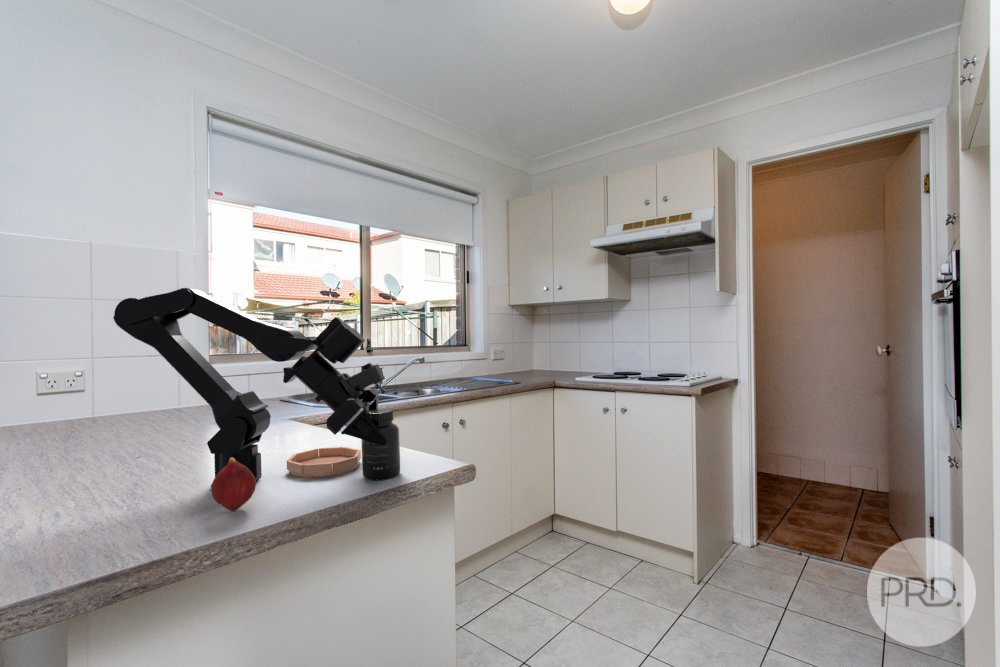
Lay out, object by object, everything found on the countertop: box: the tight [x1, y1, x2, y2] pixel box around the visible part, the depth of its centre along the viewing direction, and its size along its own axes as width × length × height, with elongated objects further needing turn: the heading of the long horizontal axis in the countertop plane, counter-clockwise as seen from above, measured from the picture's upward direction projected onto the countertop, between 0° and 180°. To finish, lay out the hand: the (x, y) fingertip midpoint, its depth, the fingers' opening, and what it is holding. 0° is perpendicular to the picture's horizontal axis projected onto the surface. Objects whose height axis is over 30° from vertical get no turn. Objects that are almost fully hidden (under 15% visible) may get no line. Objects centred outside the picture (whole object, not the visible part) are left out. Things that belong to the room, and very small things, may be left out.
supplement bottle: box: [360, 408, 401, 481], centre depth 88 cm, size 7×7×12 cm
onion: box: [210, 458, 257, 512], centre depth 72 cm, size 6×6×8 cm
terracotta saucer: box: [286, 446, 362, 479], centre depth 94 cm, size 13×13×2 cm
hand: (388, 439), depth 88 cm, fingers closed on supplement bottle, 6 cm apart
